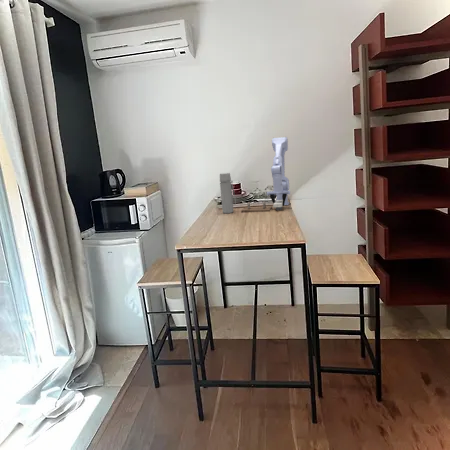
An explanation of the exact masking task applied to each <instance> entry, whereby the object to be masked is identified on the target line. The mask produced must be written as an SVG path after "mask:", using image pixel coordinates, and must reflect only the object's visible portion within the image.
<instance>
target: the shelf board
mask: <svg viewBox="0 0 450 450" xmlns="http://www.w3.org/2000/svg"><path fill="white" fill-rule="evenodd" d="M272 204H273V203H272ZM276 207H284V206H283V200H277V199H275V203H274V204H273V205H272V208H276Z"/></svg>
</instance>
